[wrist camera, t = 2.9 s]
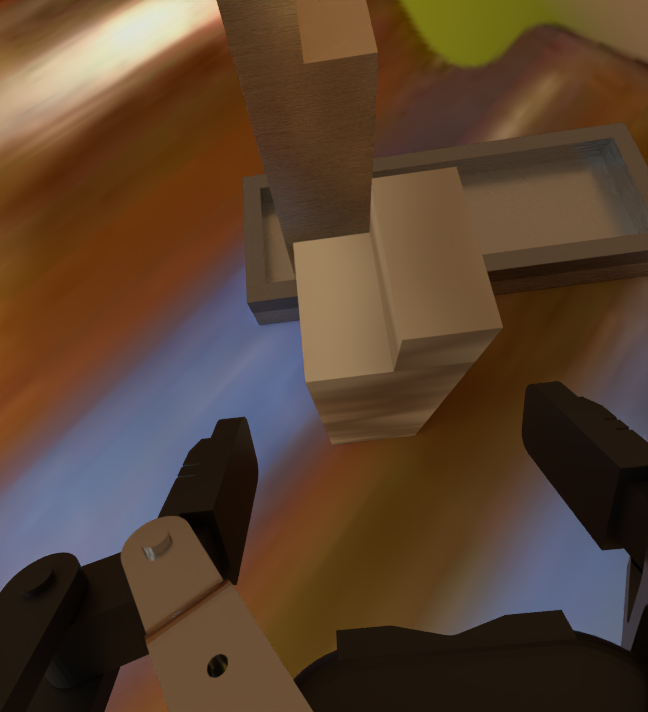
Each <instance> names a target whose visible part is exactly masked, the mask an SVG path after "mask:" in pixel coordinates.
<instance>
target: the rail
mask: <svg viewBox="0 0 648 712" xmlns="http://www.w3.org/2000/svg"><path fill="white" fill-rule="evenodd" d="M217 3H218V7H219V10H220V14H221V17H222V21H223V25H224V28H225V32H226V35H227V39H228V42H229V46H230V49H231V53H232V56H233V60H234V64H235V67H236V71H237V74H238V78H239V81H240V85H241V88H242V92H243V96H244V99H245V103H246V106H247V110H248V113H249V117H250V120H251V124H252V127H253V131H254V135H255V138H256V142H257V145H258V149H259V152H260V156H261V159H262V163H263V167H264V170H265V174H262V175H255V176H248V177H243V203H244V231H245V259H246V287H247V304H248V305H249V307H250V309H251V311H252V313H253V314H254V316H255V318H256V320H257V322H258V323H259V325H264V324H272V323H280V322H287V321H295V320H300V315H299V304H298V292H297V281H296V270H295V258H294V247H293V243H296V242H304V241H311V240H319V239H326V238H333V237H341V236H348V235H355V234H363V233H370V210H371V186H372V178H379V177H386V176H393V175H400V174H408V173H415V172H422V171H429V170H436V169H443V168H450V167H457V170H458V174H459V177H460V181H461V184H462V188H463V191H464V194H465V198H466V201H467V205H468V208H469V212H470V215H471V218H472V222H473V225H474V229H475V232H476V236H477V239H478V242H479V246H480V249H481V253H482V256H483V260H484V263H485V266H486V270H487V273H488V277H489V280H490V284H491V287H492V290H493V294H494V295H497V294H505V293H513V292H520V291H528V290H536V289H544V288H552V287H559V286H567V285H575V284H583V283H590V282H598V281H606V280H614V279H621V278H629V277H637V276H645V275H648V166H647V164H646V162H645V161H644V159H643V157H642V155H641V153H640V151H639V149H638V147H637V145H636V143H635V141H634V139H633V137H632V136H631V134H630V132H629V130H628V128H627V126H626V124H625V122H622V123H615V124H608V125H601V126H594V127H587V128H580V129H573V130H566V131H559V132H553V133H546V134H539V135H532V136H525V137H518V138H511V139H504V140H497V141H490V142H483V143H476V144H469V145H462V146H456V147H449V148H442V149H435V150H428V151H421V152H414V153H407V154H400V155H393V156H386V157H379V158H373V154H374V130H375V107H376V83H377V59H378V51H377V47H376V42H375V38H374V34H373V29H372V25H371V21H370V16H369V12H368V7H367V3H366V0H217Z"/></svg>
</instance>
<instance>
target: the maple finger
mask: <svg viewBox="0 0 648 712" xmlns="http://www.w3.org/2000/svg"><path fill="white" fill-rule="evenodd" d="M293 247H294V258H295V270H296V281H297V292H298V304H299V315H300V326H301V338H302V349H303V360H304V371H305V382H306V385H307V387H308V389H309V392H310V394H311V396H312V399H313V401H314V403H315V406H316V408H317V410H318V413H319V415H320V417H321V420H322V422H323V424H324V427H325V429H326V431H327V434H328V436H329V439H330V441H331V443H332V445H336V444H345V443H353V442H362V441H371V440H380V439H388V438H397V437H406V436H414V435H416V434H417V432H418V431H419V430H420V429H421V427H422V426H423V425H424V424H425V423H426V421H427V420H428V419H429V418H430V416H431V415H432V414H433V413H434V412H435V410H436V409H437V408H438V407H439V405H440V404H441V403H442V402H443V401H444V399H445V398H446V397H447V396H448V394H449V393H450V392H451V391H452V390H453V388H454V387H455V386H456V385H457V383H458V382H459V381H460V380H461V379H462V377H463V376H464V375H465V374H466V372H467V371H468V370H469V369H470V368H471V366H472V365H473V364H474V363H475V361H476V360H477V359H478V358H479V357H480V355H481V354H482V353H483V352H484V350H485V349H486V348H487V347H488V346H489V344H490V343H491V342H492V341H493V339H494V338H495V337H496V336H497V335H498V333H499V332H500V331H501V330H502V328H503V325H502V321H501V318H500V314H499V311H498V308H497V304H496V301H495V297H494V294H493V290H492V287H491V284H490V280H489V277H488V273H487V270H486V266H485V263H484V260H483V256H482V253H481V249H480V246H479V242H478V239H477V236H476V232H475V229H474V225H473V222H472V218H471V215H470V212H469V208H468V205H467V201H466V198H465V194H464V191H463V188H462V184H461V181H460V177H459V174H458V170H457V167H450V168H443V169H436V170H429V171H422V172H415V173H408V174H400V175H393V176H386V177H379V178H372V186H371V210H370V233H363V234H355V235H348V236H341V237H333V238H326V239H319V240H311V241H304V242H296V243H293Z"/></svg>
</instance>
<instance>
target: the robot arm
mask: <svg viewBox="0 0 648 712" xmlns="http://www.w3.org/2000/svg"><path fill="white" fill-rule="evenodd" d="M522 439H523V443H524V446H525V448H526V450H527V452H528V454H529V455H530V456H531V458H532V459H533V460H534V462H535V463H536V464H537V466H538V467H539V468H540V470H541V471H542V472H543V474H544V475H545V476H546V477H547V479H548V480H549V481H550V483H551V484H552V485H553V487H554V488H555V489H556V491H557V492H558V493H559V495H560V496H561V497H562V499H563V500H564V501H565V502H566V504H567V505H568V506H569V508H570V509H571V510H572V512H573V513H574V514H575V516H576V517H577V518H578V520H579V521H580V522H581V524H582V525H583V526H584V527H585V529H586V530H587V531H588V533H589V534H590V535H591V537H592V538H593V539H594V541H595V542H596V543H597V545H598V546H599V547H600V549H601V550H612V549H622V548H624V549H625V550H626V551H627V552H628V554H629V555H630V557H629V561H628V565H627V575H626V589H625V604H624V618H623V632H622V641H621V647H620V646H618V645H616V644H614V643H612V642H610V641H607V640H604V639H602V638H599V637H597V636H594V635H590V634H586V633H583V632H579V631H574V630H572V628H571V626H570V624H569V622H568V621H567V619H566V617H565V615H564V613H563V612H562V610H555V611H544V612H533V613H522V614H511V615H504V616H502V617H499V618H497V619H494V620H492V621H489V622H487V623H484V624H482V625H479V626H477V627H474V628H472V629H469V630H467V631H465V632H462V633H460V634H457V635H452V636H448V635H441V634H436V633H430V632H424V631H419V630H413V629H407V628H402V627H396V626H380V627H370V628H359V629H348V630H337V631H336V633H337V650H336V651H333V652H331V653H329V654H326V655H325V656H323V657H321V658H319V659H318V660H316V661H314V662H313V663H312V664H310V665H309V666H308V667H306V668H305V669H304V670H303V671H302V672H300V673H299V674H298V675H297V676H296V677H295V678H294V679H292V677H291V676H290V674H289V673H288V671H287V670H286V668H285V666H284V665H283V663H282V662H281V660H280V659H279V657H278V655H277V654H276V652H275V651H274V649H273V647H272V646H271V644H270V643H269V641H268V640H267V638H266V636H265V635H264V633H263V632H262V630H261V629H260V627H259V625H258V624H257V622H256V621H255V619H254V618H253V616H252V614H251V613H250V611H249V610H248V608H247V606H246V605H245V603H244V602H243V600H242V599H241V597H240V595H239V594H238V592H237V591H236V589H235V588H234V586H233V585H237V581H238V576H239V571H240V566H241V561H242V557H243V552H244V547H245V542H246V537H247V532H248V527H249V522H250V517H251V512H252V507H253V502H254V497H255V492H256V487H257V482H258V463H257V458H256V454H255V450H254V445H253V441H252V437H251V433H250V429H249V425H248V422H247V419H246V418H245V417H238V418H229V419H221V420H218V422H217V424H216V426H215V429H214V431H213V434H212V436H211V438H206V439H201V440H200V441H199V442H198V443H197V444H196V445H195V446H194V447H193V448H192V449H191V450H190V451H189V453H188V455H187V457H186V459H185V461H184V463H183V467H181V469H180V472H179V474H178V478H177V479H176V480H175V482H174V484H173V486H172V488H171V491H170V493H169V495H168V497H167V499H166V501H165V503H164V505H163V507H162V509H161V512H160V514H159V516H158V518H157V519H155V520H152V521H150V522H148V523H146V524H145V525H143V526H142V527H140V528H139V529H138V530H136V531H135V532H134V533H133V534H132V535H131V536H130V537H129V539H128V540H127V541H126V543H125V545H124V547H123V549H122V552H120V553H117V554H115V555H112V556H109V557H107V558H104V559H101V560H98V561H96V562H93V563H90V564H87V565H85V566H82V567H81V565H80V563H79V561H78V560H77V558H76V557H75V556H74V555H73V554H70V553H55V554H51V555H48V556H45V557H43V558H41V559H39V560H37V561H35V562H33V563H31V564H30V565H28V566H27V567H25V568H24V569H22V570H21V571H20V572H19V573H17V574H16V575H15V576H14V577H13V578H12V579H11V580H10V581H9V582H8V583H7V584H6V586H5V587H4V588H3V590H2V591H1V592H0V712H104V711H105V709H106V706H107V703H108V700H109V697H110V695H111V692H112V689H113V686H114V683H115V680H116V678H117V675H118V672H119V669H120V666H123V665H125V664H127V663H130V662H132V661H134V660H136V659H139V658H141V657H143V656H146V655H148V654H150V657H151V660H152V663H153V665H154V668H155V671H156V674H157V677H158V680H159V683H160V686H161V689H162V692H163V695H164V698H165V701H166V704H167V707H168V710H169V712H648V442H647V441H645V440H644V439H643V438H642V437H640V436H639V435H638V434H637V433H635V432H634V431H633V430H629V427H628V426H627V425H626V424H624V423H623V422H622V421H621V420H617V417H616V416H614V415H613V414H612V413H611V412H609V411H608V410H607V409H606V408H604V407H603V406H602V405H600V404H597V403H595V402H593V401H591V400H588V399H586V398H584V397H577V396H576V395H575V394H574V393H573V392H572V391H570V390H569V389H568V388H567V387H566V386H564V385H563V384H562V383H561V382H558V381H556V382H547V383H538V384H530V385H528V386H527V388H526V392H525V401H524V412H523V423H522Z"/></svg>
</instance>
